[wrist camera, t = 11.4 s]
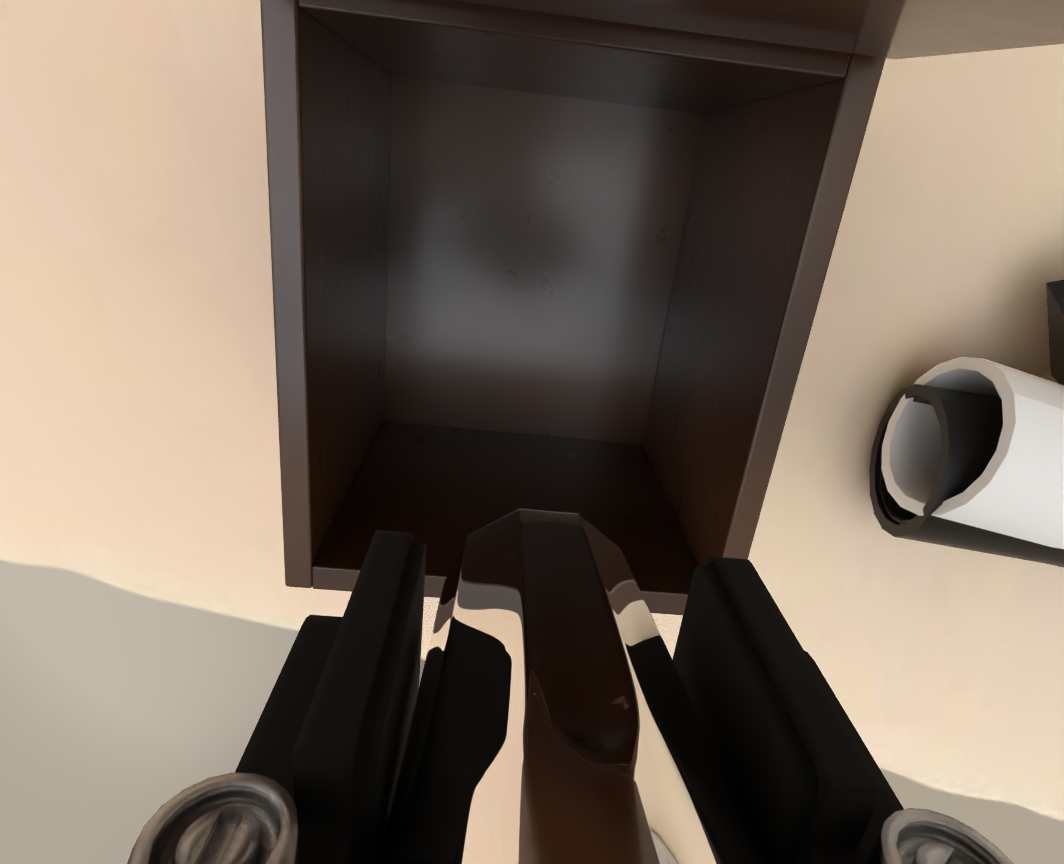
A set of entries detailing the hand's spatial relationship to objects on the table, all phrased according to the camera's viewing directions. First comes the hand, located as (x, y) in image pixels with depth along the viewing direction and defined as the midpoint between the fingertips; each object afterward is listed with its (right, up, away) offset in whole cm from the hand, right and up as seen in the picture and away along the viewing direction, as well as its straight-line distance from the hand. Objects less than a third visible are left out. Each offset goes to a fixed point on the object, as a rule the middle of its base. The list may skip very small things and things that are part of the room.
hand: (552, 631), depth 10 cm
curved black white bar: (+33, +2, +23) cm, 40 cm away
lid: (+1, +8, -4) cm, 9 cm away
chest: (0, +10, +18) cm, 21 cm away
